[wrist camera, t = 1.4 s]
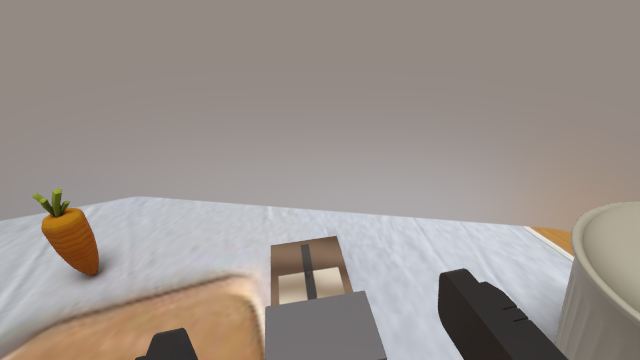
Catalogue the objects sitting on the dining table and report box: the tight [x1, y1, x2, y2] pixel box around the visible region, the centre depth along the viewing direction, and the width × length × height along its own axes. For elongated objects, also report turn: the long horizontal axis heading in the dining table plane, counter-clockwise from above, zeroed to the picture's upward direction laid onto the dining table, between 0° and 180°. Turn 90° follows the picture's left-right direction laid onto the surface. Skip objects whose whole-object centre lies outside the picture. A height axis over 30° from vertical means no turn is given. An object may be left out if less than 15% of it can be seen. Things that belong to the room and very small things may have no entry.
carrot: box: [33, 189, 99, 276], centre depth 45 cm, size 5×5×15 cm
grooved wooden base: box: [271, 236, 353, 306], centre depth 36 cm, size 28×10×3 cm, turn 8°
